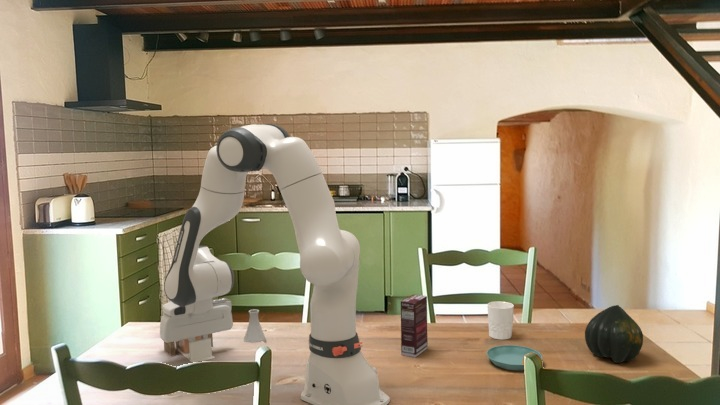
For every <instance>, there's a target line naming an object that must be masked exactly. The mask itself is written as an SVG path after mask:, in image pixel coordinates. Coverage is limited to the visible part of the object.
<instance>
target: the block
mask: <svg viewBox="0 0 720 405" xmlns="http://www.w3.org/2000/svg"><path fill="white" fill-rule="evenodd" d="M200 339H201V336H197V337H195V340H200ZM178 343H179V349H180V350H181V351H182V352H183V353H185V354H186V353H189V340H188V339H183V340H178Z"/></svg>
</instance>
